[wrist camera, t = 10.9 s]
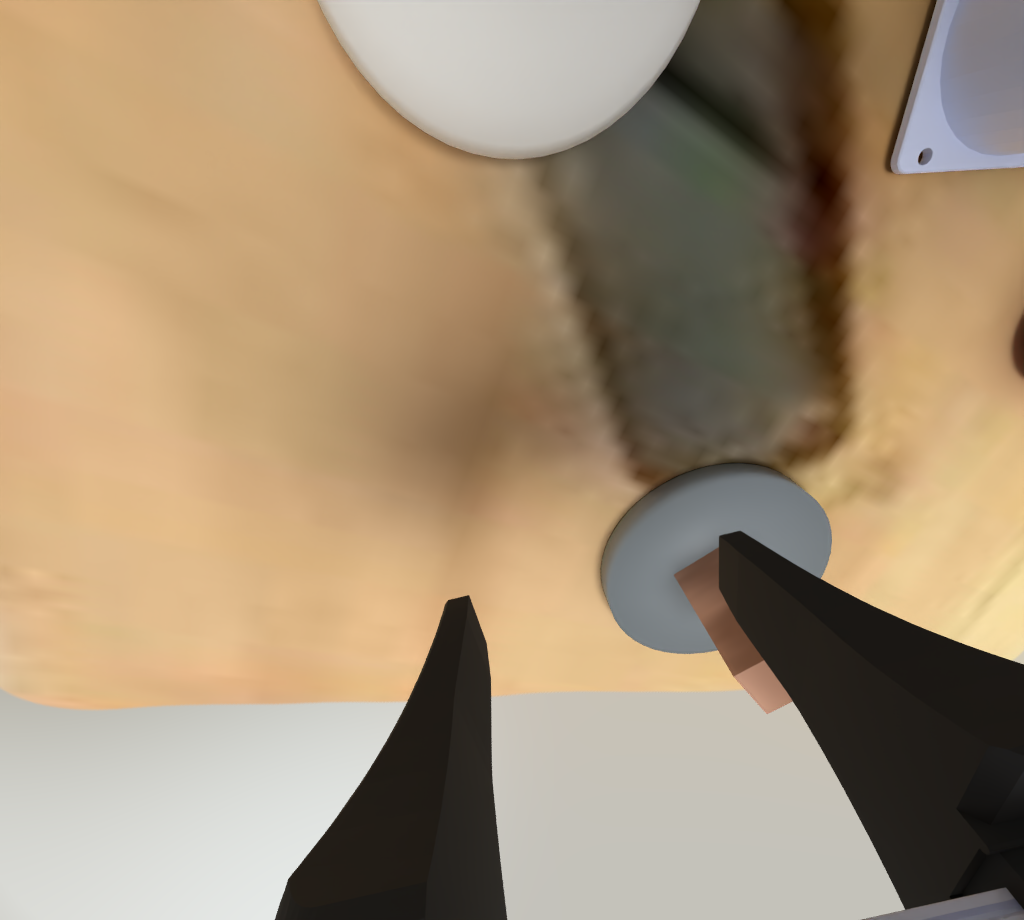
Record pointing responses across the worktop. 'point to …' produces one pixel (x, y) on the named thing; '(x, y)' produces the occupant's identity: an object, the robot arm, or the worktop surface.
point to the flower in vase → (510, 65)
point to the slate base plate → (702, 545)
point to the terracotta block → (729, 633)
